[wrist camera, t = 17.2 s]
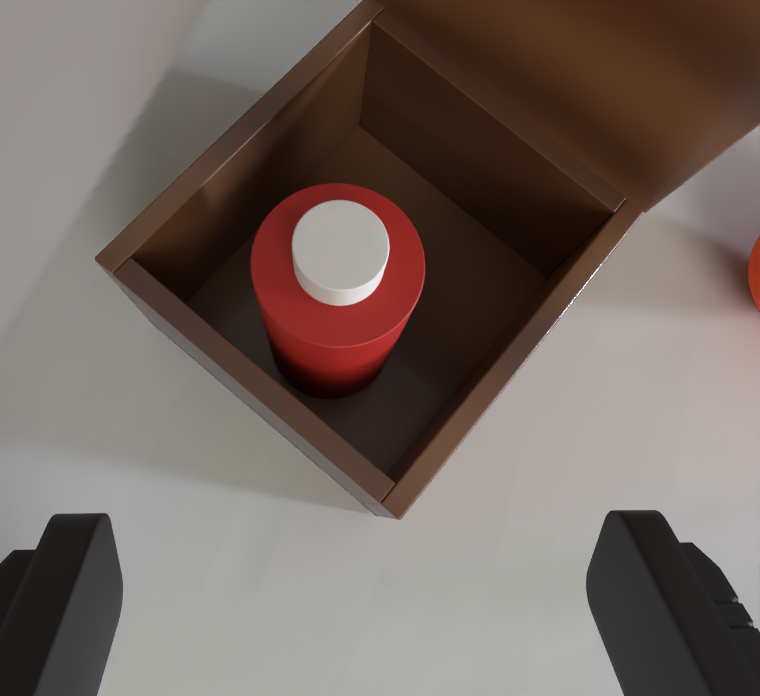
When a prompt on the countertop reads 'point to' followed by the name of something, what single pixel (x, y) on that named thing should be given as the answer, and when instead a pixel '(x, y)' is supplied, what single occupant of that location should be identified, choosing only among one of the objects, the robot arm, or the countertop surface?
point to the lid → (612, 77)
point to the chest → (427, 214)
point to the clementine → (755, 273)
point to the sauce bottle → (335, 285)
